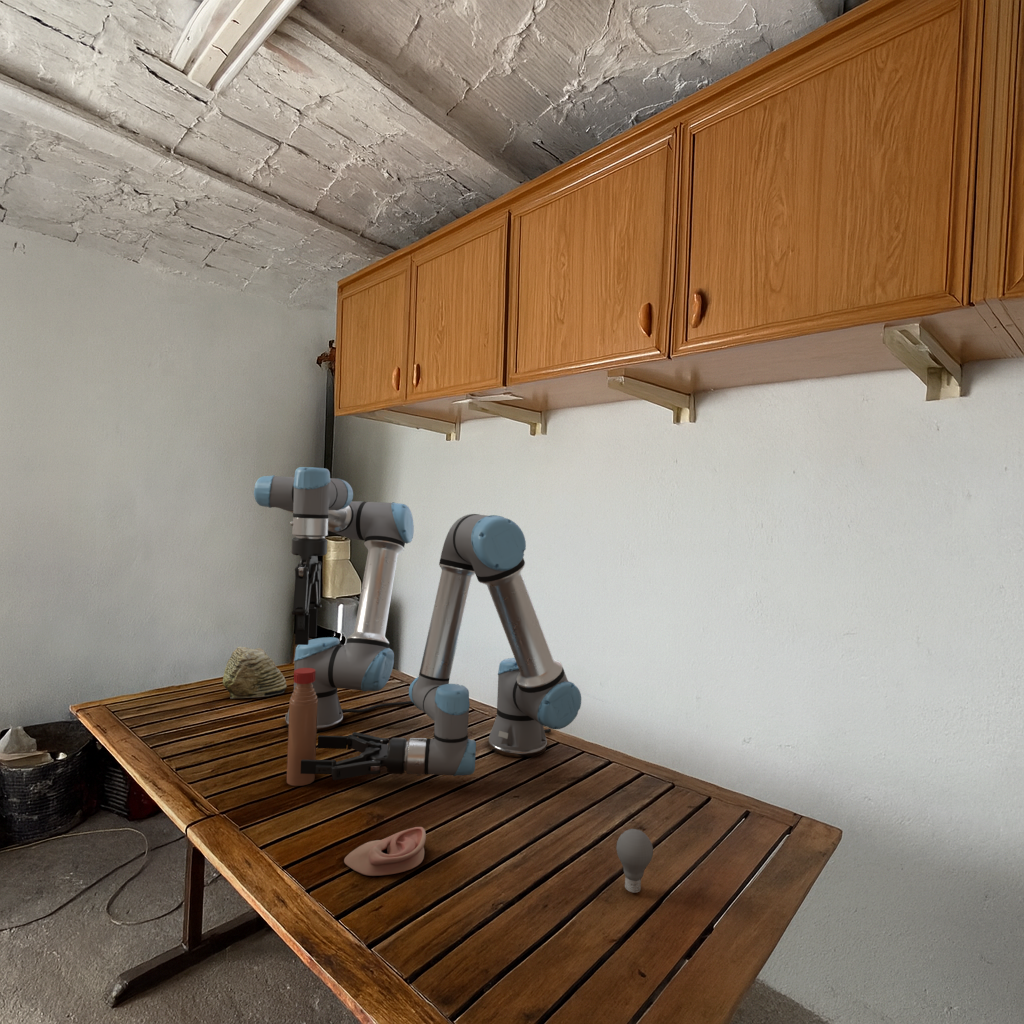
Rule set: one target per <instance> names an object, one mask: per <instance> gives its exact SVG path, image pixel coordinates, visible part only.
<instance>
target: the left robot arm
mask: <svg viewBox="0 0 1024 1024" xmlns="http://www.w3.org/2000/svg"><path fill="white" fill-rule="evenodd" d="M253 496H254V500H255V502H256V503H257V504H258V506H260V507H265V508H269V509H272V508H278V509H280V510H283V511H286V512H289V513H291V514H292V521H290V522H289V525H290V526H291V527H292V531H291V533H292V535H293V536H294V537H292V539H291V551H290V552H291V554H292V555H293V556H299V557H300V558H299V563H297V566H295V568H294V575H295V576H294V577H295V579H294V593H293V607H292V608H293V609H292V611H291V615H295V630H294V632H295V633H294V645H296V647H295V652H294V653H295V654H294V659H293V661H294V670H296V669H300V668H313V669H315V672H316V675H315V681H314V682H313V683H312V685H313V688H314V689H315V692H316V695H317V699H318V709H317V733H318V732H325V731H329V730H332V729H335V728H337V727H339V726H340V725H342V723H343V722H344V714H343V713H354V714H360V713H367V712H369V711H373V710H375V709H379V708H383V707H384V708H385V707H394V706H405V705H414V703H413V702H412V701H411V700H408V701H407V700H405V701H397V702H396V701H395V702H394V701H393V702H385V703H379V704H375V705H372V706H369V707H366V708H362V709H361V708H360V709H353V708H342V706H341V702H340V699H339V695H338V689H342V690H343V689H345V690H351V691H353V690H354V691H362V692H379V691H381V690H382V689H384V687H385V686H386V685H387V684H388V682H389V680H390V677H391V675H392V673H393V670H394V663H395V652H394V650H393V649H391V648H390V641H389V639H387V637H386V632H387V626H388V619H389V613H390V606H391V600H392V593H393V588H394V581H395V575H396V569H397V563H398V556H399V554H401V553H403V552H404V551H405V545H407V544H410V543H411V542H412V541H413V539H414V532H415V530H414V529H415V528H414V527H415V525H414V518H413V514H412V510H411V509H410V507H409V506H408V505H407V504H405V503H399V502H392V501H391V502H380V501H363V500H361V501H360V500H357V501H356V500H355V501H353V498H354V490H353V487H352V486H351V485H350V483H349V482H348V481H346V480H344V479H341V478H339V477H337V478H335V477H333V478H332V477H331V472H330V470H329V469H328V468H326V467H325V468H324V467H312V466H311V467H310V466H300V467H297V468H296V469H295V470H294V476H283V475H282V476H281V475H263V476H262V475H261V476H260V477H259V478H258V479H257V480H256V482H255V484H254V490H253ZM329 532H331V533H334V534H336V535H339V536H342V537H345V538H347V539H351V540H356V541H364V543H363V545H364V546H365V548H366V549H367V556H366V561H365V568H364V572H363V578H362V584H361V590H360V595H359V601H358V607H357V612H356V618H355V625H354V631H353V632H352V633H351V634H350V635H349V636H347V638H346V643H345V644H341V641H340V639H339V638H338V637H334V636H331V637H330V636H327V637H326V636H325V637H318V635H317V634H318V610H319V608H320V609H321V608H322V603H321V569H322V564H323V563H322V561H321V560H319V557H321V556H326V555H327V554H328V539H327V538H326V537H327V536H329ZM317 637H318V638H317ZM310 638H313V639H310ZM294 670H293V671H294ZM296 685H297V683H295V682H294V681H293V690H294V689H295V686H296ZM284 718H285V726H286V728H288V727H289V709H288V711H287V712H286V714H285V717H284Z"/></svg>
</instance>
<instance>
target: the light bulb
mask: <svg viewBox="0 0 1024 1024" xmlns="http://www.w3.org/2000/svg"><path fill="white" fill-rule="evenodd" d="M615 849H616V854H617V857H618V859H619V861H620V863H621V865H622V867H623V873H624V874H623V875H624V876H625V878H624V888H625V890H627V891H628V892H630V893H634V894H635V893H639V892H640V891H641V889H642V887H641V886H642V879H643V877H644V875H645V871H646V868H647V867H648V866H649V864H650V863H651V861H652V859H653V855H654V847H653V843H652V841H651V838H649V836H648V835H647V834H646V833H645V832H643V831H642V830H641V829H636V828H629V829H627V830H625V831H623V832H622V833H621V834H620V835H619V837H618V839H617V841H616V847H615Z"/></svg>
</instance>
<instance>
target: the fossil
mask: <svg viewBox="0 0 1024 1024" xmlns="http://www.w3.org/2000/svg"><path fill="white" fill-rule="evenodd" d="M222 676H223V677H222V685H223V687H224V688H225V690H226V691H228V693H229V698H230V699H250V698H264V697H271V696H275V695H281V694H284V693H285V691H286V689H287V687H288V686H287V680H286V678H285V676H284V674H283V673H282V672H281V669H279V668H278V667H277V665H276V663H275V662H274V660H273V659H272V658H271V657H270V656H269V655H268V654H267V653H266V652H265V650H264V649H263V648H260V647H258V648H251V647H247V646H246V647H245V646H238V647H237V648H236V649H235V650H233V651H232V653H231V656H230V657H229V659H228V660H227V663H226V666H225V668H224V671H223V675H222Z"/></svg>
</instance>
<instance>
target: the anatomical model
mask: <svg viewBox="0 0 1024 1024" xmlns="http://www.w3.org/2000/svg"><path fill="white" fill-rule="evenodd" d="M426 839H427V834H426V829H425V827H423V826H415V827H411V828H407V829H404V830H401V831H398V832H396V833H394V834H392V835H389V836H387V837H385V838H383V839H376V840H370V841H368V842H365V843H363V844H361V845H359V846H357V847H356V848H355V849H353V850H352V851H350V852H349V853H348V854H347V855H346V856H345V857H344V859H343V863H344V865H346V866H347V867H348V868H350V869H352V870H353V871H355V872H356V873H359V874H361V875H364V876H369V877H377V876H389V875H394V874H395V875H396V874H399V873H403V872H407V871H409V870H412V869H414V868H416V867H418V866H419V865H421V863H422V862H423V860H424V859H425V848H424V846H425V844H426Z"/></svg>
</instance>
